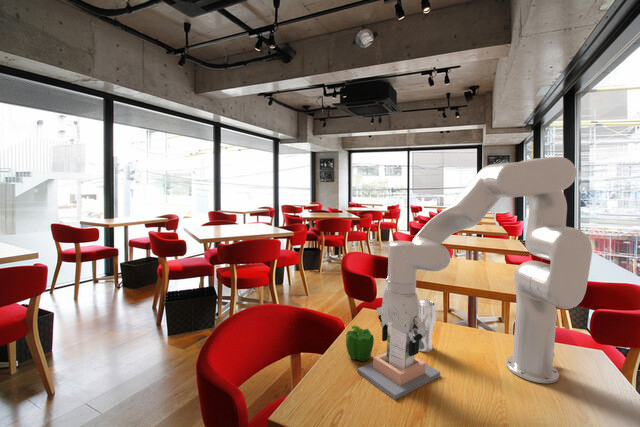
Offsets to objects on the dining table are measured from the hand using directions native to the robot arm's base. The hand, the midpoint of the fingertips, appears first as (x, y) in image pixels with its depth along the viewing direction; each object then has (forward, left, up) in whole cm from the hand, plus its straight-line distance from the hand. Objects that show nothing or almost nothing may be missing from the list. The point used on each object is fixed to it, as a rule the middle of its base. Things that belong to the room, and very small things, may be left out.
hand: (399, 346), depth 91 cm
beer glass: (-18, -6, -8) cm, 21 cm away
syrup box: (0, 0, -7) cm, 7 cm away
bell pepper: (+3, -13, -8) cm, 16 cm away
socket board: (0, 0, -8) cm, 8 cm away
